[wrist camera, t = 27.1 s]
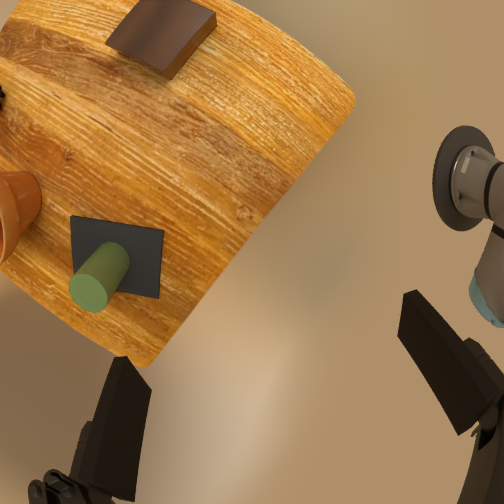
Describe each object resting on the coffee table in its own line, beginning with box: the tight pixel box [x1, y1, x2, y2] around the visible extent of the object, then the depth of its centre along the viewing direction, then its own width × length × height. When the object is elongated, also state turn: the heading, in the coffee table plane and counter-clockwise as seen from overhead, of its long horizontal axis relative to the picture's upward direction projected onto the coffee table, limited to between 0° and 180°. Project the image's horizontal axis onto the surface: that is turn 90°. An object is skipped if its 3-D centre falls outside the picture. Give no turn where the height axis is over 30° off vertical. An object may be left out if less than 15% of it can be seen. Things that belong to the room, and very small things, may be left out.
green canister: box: [69, 242, 130, 313], centre depth 35 cm, size 6×6×10 cm
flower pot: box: [0, 171, 41, 265], centre depth 27 cm, size 14×14×13 cm
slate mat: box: [70, 215, 164, 299], centre depth 39 cm, size 16×12×1 cm
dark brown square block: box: [105, 0, 217, 80], centre depth 24 cm, size 10×10×5 cm
